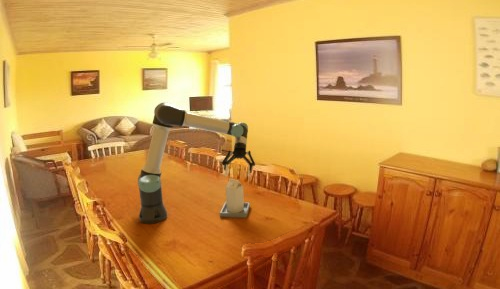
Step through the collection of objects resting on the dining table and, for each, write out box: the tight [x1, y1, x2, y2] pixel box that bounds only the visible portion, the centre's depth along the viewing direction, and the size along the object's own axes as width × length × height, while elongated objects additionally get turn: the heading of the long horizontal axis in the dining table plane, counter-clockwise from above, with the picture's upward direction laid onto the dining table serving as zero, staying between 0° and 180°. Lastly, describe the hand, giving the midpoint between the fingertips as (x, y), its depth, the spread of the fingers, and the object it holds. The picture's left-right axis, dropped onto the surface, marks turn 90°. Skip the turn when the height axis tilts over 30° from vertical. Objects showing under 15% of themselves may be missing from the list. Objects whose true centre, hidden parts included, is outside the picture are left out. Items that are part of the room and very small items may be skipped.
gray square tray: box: [219, 201, 251, 219], centre depth 175 cm, size 15×15×2 cm
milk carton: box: [225, 178, 245, 213], centre depth 173 cm, size 7×7×19 cm
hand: (237, 175), depth 178 cm, fingers open, 13 cm apart
